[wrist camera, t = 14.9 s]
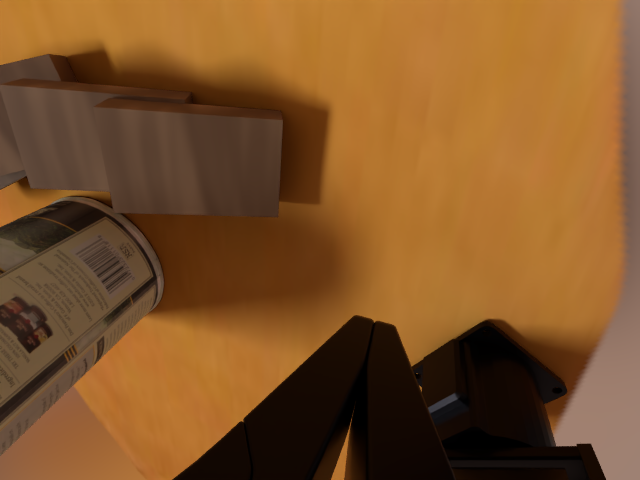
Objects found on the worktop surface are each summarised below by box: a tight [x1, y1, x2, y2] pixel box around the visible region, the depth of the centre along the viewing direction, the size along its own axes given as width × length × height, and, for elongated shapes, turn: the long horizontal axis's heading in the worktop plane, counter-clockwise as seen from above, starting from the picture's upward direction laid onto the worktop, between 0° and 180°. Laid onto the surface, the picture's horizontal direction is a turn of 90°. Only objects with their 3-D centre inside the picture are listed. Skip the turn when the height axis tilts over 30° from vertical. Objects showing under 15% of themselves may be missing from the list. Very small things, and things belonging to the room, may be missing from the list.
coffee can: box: [0, 197, 164, 456], centre depth 22 cm, size 10×10×14 cm
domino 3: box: [93, 98, 283, 217], centre depth 19 cm, size 2×5×8 cm
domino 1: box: [0, 54, 78, 176], centre depth 20 cm, size 2×5×8 cm
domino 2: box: [0, 78, 193, 192], centre depth 19 cm, size 2×5×8 cm
